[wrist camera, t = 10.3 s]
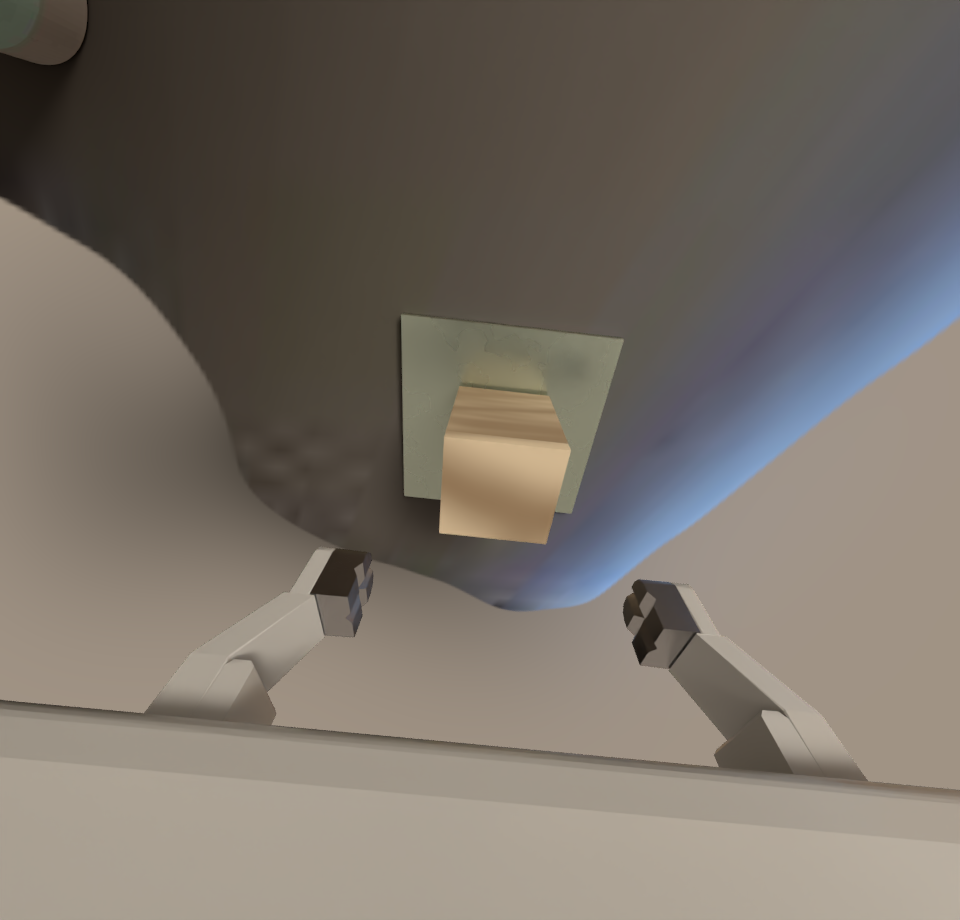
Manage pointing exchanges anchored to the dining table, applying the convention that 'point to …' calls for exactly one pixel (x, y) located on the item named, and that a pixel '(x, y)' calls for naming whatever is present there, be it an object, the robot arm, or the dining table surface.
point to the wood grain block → (502, 466)
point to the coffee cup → (42, 29)
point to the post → (498, 386)
